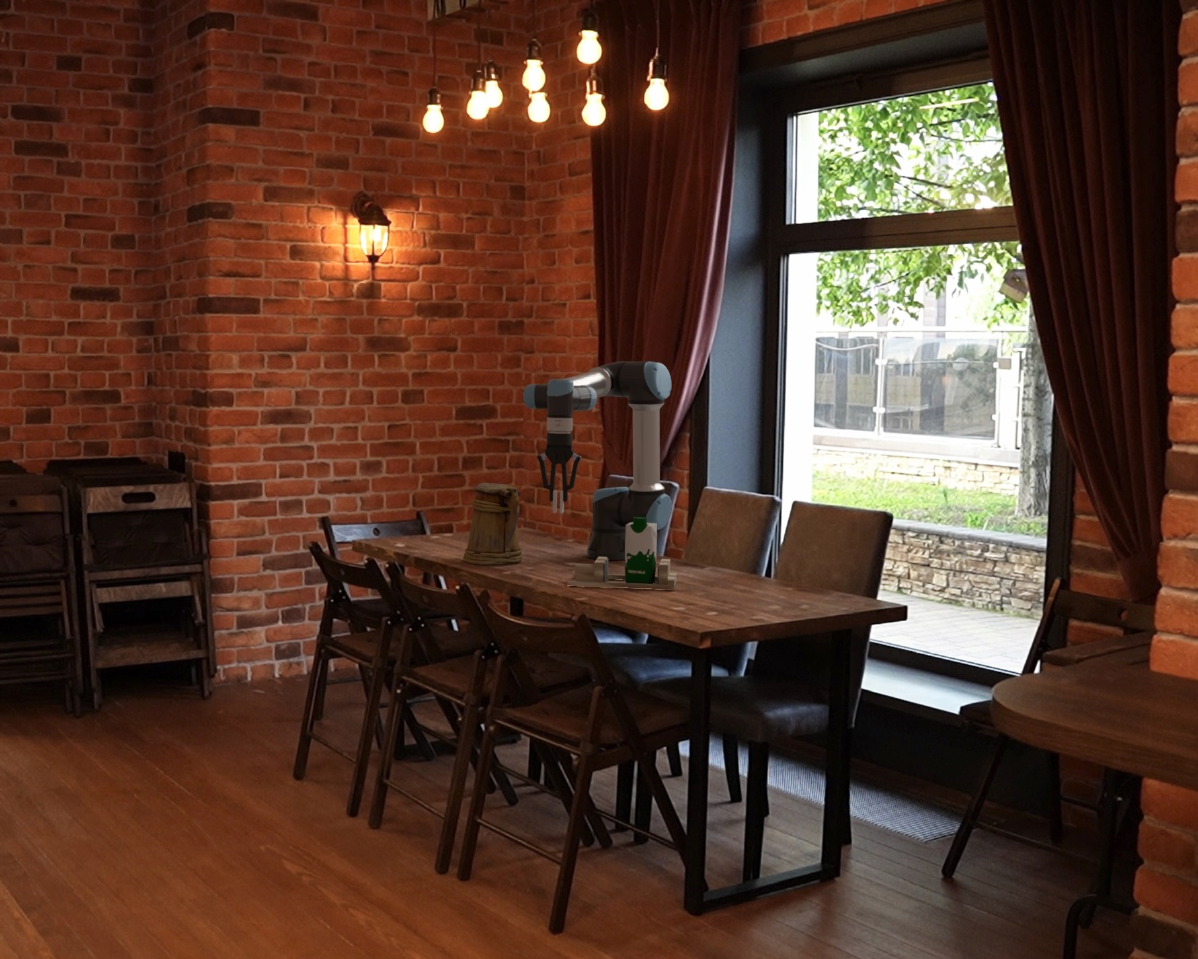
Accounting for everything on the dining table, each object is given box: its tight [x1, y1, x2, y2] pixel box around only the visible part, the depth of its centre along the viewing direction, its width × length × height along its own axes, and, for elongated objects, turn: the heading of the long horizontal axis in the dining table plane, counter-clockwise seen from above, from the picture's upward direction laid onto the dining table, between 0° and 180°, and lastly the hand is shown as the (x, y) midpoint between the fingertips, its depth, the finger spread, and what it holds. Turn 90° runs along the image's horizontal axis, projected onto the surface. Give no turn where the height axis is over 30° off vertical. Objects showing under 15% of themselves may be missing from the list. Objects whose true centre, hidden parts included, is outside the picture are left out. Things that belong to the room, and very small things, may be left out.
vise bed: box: [566, 558, 678, 590], centre depth 399 cm, size 16×31×7 cm, turn 84°
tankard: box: [462, 482, 523, 566], centre depth 434 cm, size 18×24×25 cm
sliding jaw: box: [574, 557, 609, 582], centre depth 400 cm, size 12×9×7 cm
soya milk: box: [624, 517, 658, 584], centre depth 398 cm, size 9×9×20 cm
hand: (558, 512), depth 400 cm, fingers closed
